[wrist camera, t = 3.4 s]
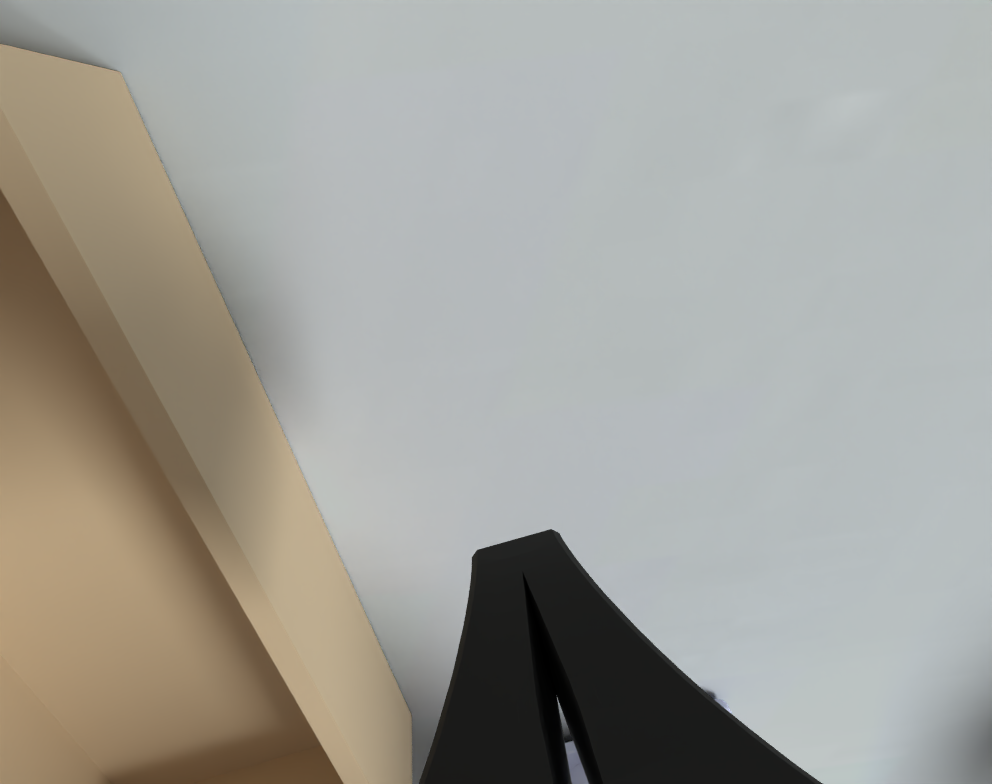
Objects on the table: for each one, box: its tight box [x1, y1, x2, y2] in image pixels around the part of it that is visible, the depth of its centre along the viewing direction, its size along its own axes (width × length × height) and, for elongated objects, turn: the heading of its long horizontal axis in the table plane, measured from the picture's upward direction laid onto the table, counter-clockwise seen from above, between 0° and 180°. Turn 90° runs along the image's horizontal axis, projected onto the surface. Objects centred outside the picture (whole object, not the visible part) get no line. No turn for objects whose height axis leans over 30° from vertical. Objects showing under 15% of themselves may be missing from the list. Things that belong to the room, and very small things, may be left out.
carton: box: [0, 44, 412, 784], centre depth 12 cm, size 18×9×4 cm, turn 13°
